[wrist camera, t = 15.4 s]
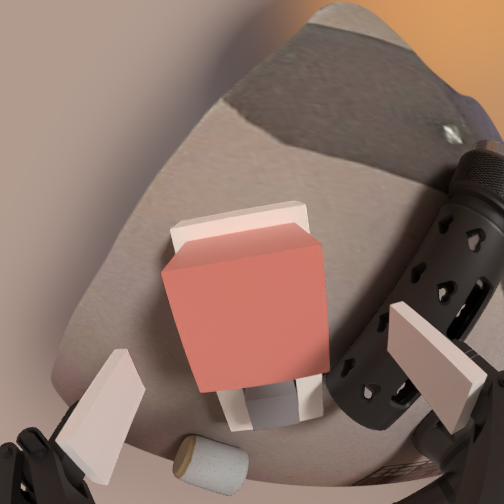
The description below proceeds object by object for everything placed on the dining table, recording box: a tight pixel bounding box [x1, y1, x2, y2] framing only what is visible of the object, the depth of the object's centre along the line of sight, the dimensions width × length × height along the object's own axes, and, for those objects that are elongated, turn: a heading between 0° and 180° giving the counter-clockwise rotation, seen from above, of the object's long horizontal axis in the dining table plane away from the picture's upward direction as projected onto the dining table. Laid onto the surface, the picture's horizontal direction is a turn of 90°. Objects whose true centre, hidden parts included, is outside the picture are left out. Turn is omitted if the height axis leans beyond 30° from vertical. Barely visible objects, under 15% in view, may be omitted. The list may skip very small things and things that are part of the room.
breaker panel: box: [170, 201, 323, 432], centre depth 25 cm, size 22×10×4 cm, turn 10°
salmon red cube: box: [161, 222, 330, 393], centre depth 18 cm, size 8×8×7 cm
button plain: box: [245, 380, 300, 431], centre depth 24 cm, size 4×4×4 cm
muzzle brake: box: [326, 140, 504, 431], centre depth 21 cm, size 10×28×10 cm, turn 149°
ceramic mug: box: [173, 435, 249, 496], centre depth 28 cm, size 11×8×8 cm
